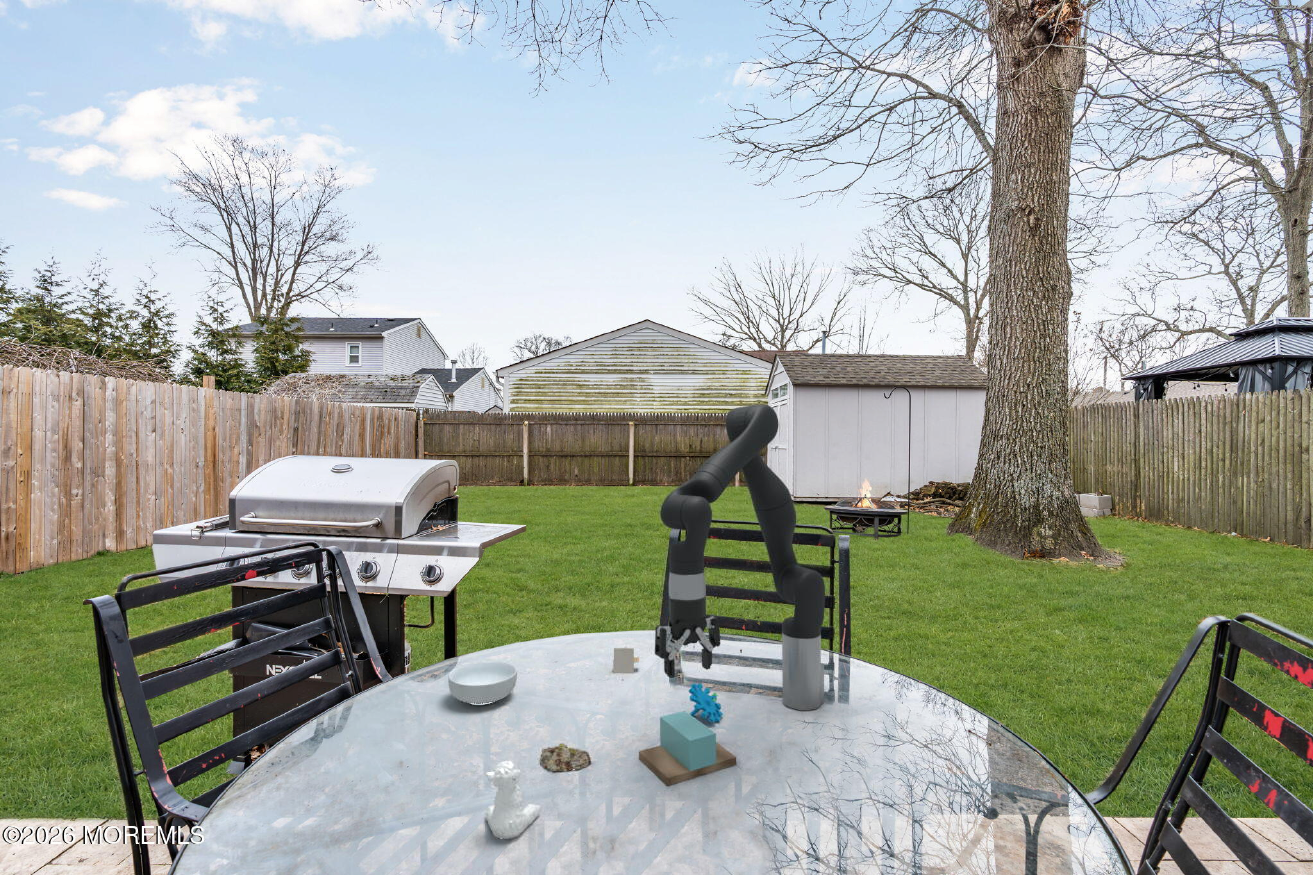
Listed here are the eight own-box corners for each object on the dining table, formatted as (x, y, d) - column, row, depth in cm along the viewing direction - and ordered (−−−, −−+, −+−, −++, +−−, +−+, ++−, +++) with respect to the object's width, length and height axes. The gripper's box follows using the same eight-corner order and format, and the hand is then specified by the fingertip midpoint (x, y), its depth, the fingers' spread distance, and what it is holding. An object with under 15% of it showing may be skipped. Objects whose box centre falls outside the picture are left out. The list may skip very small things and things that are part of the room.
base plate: (704, 739, 146) (703, 719, 146) (736, 764, 135) (736, 742, 135) (638, 758, 138) (638, 736, 138) (667, 785, 127) (667, 762, 127)
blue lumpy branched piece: (712, 724, 149) (686, 685, 154) (694, 739, 151) (669, 700, 155) (732, 712, 159) (707, 676, 163) (715, 726, 161) (691, 690, 165)
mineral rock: (532, 762, 133) (545, 733, 140) (534, 779, 134) (547, 750, 142) (584, 768, 131) (595, 738, 139) (586, 785, 132) (596, 755, 140)
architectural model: (614, 670, 188) (614, 644, 188) (639, 670, 188) (639, 644, 188) (613, 675, 185) (613, 648, 184) (638, 675, 184) (638, 648, 184)
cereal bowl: (508, 714, 159) (507, 684, 159) (439, 714, 160) (438, 685, 160) (523, 686, 176) (523, 659, 176) (461, 686, 177) (460, 659, 177)
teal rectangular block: (684, 738, 143) (684, 710, 143) (716, 763, 133) (715, 733, 133) (660, 745, 140) (660, 716, 140) (690, 771, 130) (690, 740, 130)
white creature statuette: (541, 813, 119) (540, 746, 119) (534, 843, 111) (533, 771, 110) (487, 814, 119) (486, 747, 119) (476, 845, 110) (475, 773, 110)
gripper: (706, 584, 143) (707, 660, 143) (647, 594, 136) (648, 673, 136) (726, 592, 136) (727, 671, 137) (666, 603, 129) (667, 686, 130)
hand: (688, 672), depth 136 cm, fingers open, 8 cm apart
